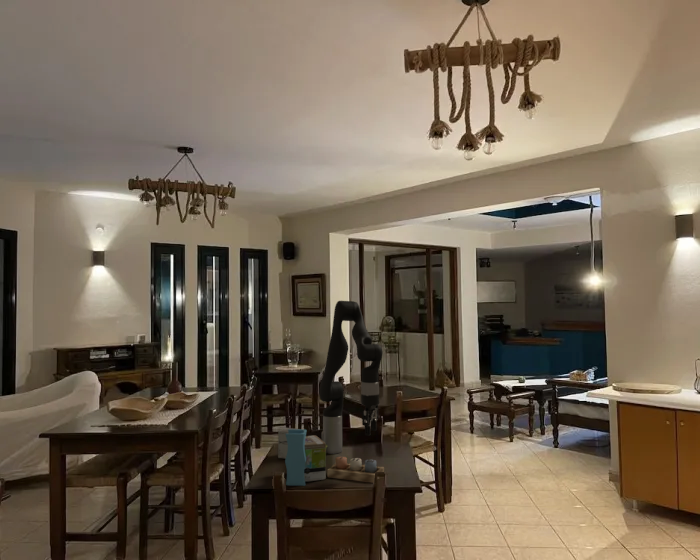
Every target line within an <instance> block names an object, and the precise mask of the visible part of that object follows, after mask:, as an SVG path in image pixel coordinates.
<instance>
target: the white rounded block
mask: <svg viewBox="0 0 700 560" xmlns="http://www.w3.org/2000/svg"><path fill="white" fill-rule="evenodd" d="M349 463H350V470H351V471H361V470H362V465H363V464H362V459H361V458H360V457H354V458H351V459H349Z"/></svg>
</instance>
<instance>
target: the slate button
mask: <svg viewBox="0 0 700 560" xmlns="http://www.w3.org/2000/svg"><path fill="white" fill-rule="evenodd" d="M364 465H365V472H367V473H375V472H377V460H375V459H366V460H364Z"/></svg>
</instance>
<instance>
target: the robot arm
mask: <svg viewBox="0 0 700 560" xmlns="http://www.w3.org/2000/svg"><path fill="white" fill-rule="evenodd" d="M343 322H354V325H353V327H352V329H351V336H352V339H353V341H354V343H355V345H356V357H357V358H358V360H359V361H361V362H365V363H366V362H371V363H370V365H368V366H365V367H362V369H361V385H360V401H361V403H360V404H361V405H363V406H364V409H363V410H362V411H361V415H362V416H361V420H362V421H361V422H362V424H361V425H362V426H363V427H364V436H367V437H368V436H371V432H376V431H377V422H378V420H379V404H380V383H379V382H380V381H379V377H380V376H379V373H380V372H379V371H380V366H381V362H382V359H383V348H382V346H381V345H380V344H378V343H373V339H372V336H371V334H370V333H369V331H368V329H367V328H366V324H365V320H364V316H363V314H362V310H361V307H360V305H359V303H358V302H357V301H351V300H350V301H349V300H338V301H337V302H336V304H335V306H334V312H333V321H332V328H331V329H332V330H331V337H330V340H329V345H328V350H327V353H326V354H327V355H326V362H325V367H324V371H323V374H322V378H321V380H320V385H319V390H318V395H319V399H320V400H321V402H323V403H328V402H331V403H330V404H329V405H328V406H327V407H325V408H324V409H322V423H323V424H322V431H321V440H322V441H324V442H325V443H326V445H327V448H326V454H331V455H333V454H334V455H335V454H340V453H342V452H343V410H344V387H343V384H342V382H341V381H338V380H337V381H334V378H335V376H336V374H337V373H338V372H339V371H340V369H341V368H343V366H344V364H345V363H346V361H347V358H348V354H349V343H348V341H347V339H346V337H345V335H344V332H343V329H342V325H343Z"/></svg>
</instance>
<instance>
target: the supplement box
mask: <svg viewBox="0 0 700 560" xmlns="http://www.w3.org/2000/svg"><path fill="white" fill-rule="evenodd" d="M288 429H295V428H292V427H291V428H290V427H284V428H282V429H280V430H278V431H277V432H278V435H277V436H278V438H277V439H278V441H277V443H278V445H277V447H278V448H277V449H278V451H277V457H278V459H286V456H287V451H288V443H287V439H286V435H285V434H289V433H288Z"/></svg>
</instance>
